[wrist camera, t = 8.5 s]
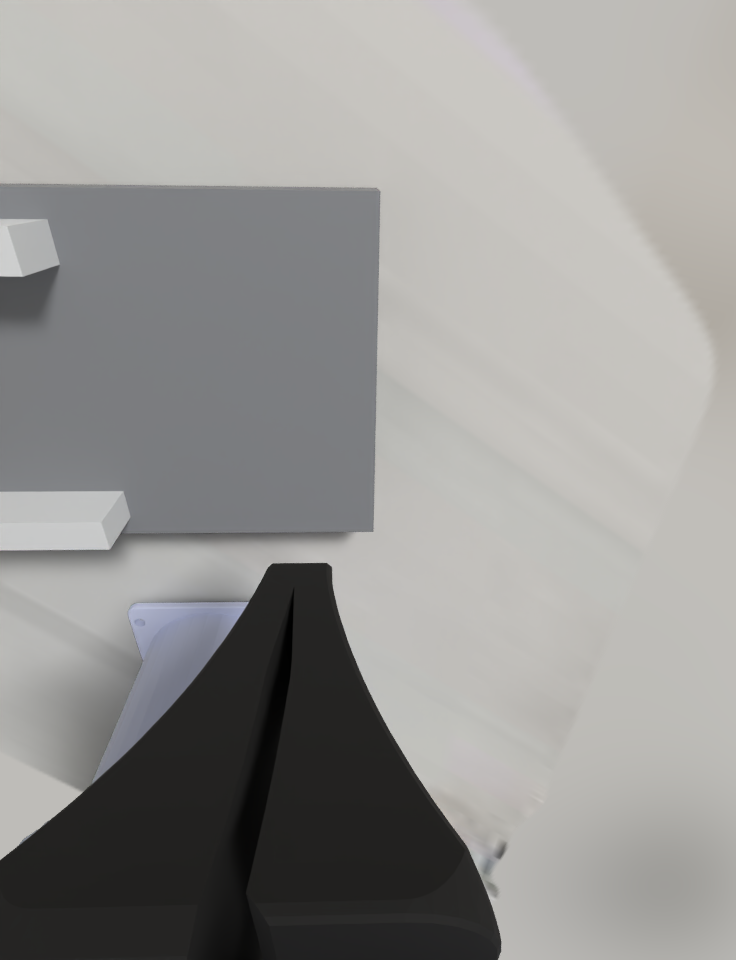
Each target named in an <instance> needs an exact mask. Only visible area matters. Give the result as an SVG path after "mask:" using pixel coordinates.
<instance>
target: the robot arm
mask: <svg viewBox="0 0 736 960" xmlns="http://www.w3.org/2000/svg"><path fill="white" fill-rule="evenodd" d="M128 617H129V620H130V623H131V626H132V630H133V633H134V636H135V639H136V642H137V645H138V648H139V651H140V654H141V657H142V661H143V663H142V665H141V668H140V670H139V672H138V675H137V677H136V679H135V682H134V684H133V687H132V689H131V691H130V694H129V696H128V698H127V701H126V703H125V705H124V708H123V710H122V713H121V715H120V717H119V720H118V722H117V724H116V727H115V729H114V731H113V734H112V736H111V738H110V741H109V743H108V746H107V748H106V750H105V753H104V755H103V757H102V760H101V762H100V764H99V767H98V769H97V772H96V774H95V776H94V779H93V781H92V783H91V786H89V787H88V788H87V789H86V790H85V791H84V792H83V793H82V794H81V795H80V796H78V797H77V798H76V799H75V800H74V801H73V802H72V803H70V804H69V805H68V806H67V807H66V808H64V809H63V810H62V811H61V812H60V813H58V814H57V815H56V816H55V817H53V818H52V819H51V820H50V821H48V822H46V823H45V824H44V825H43V826H42V827H41V828H40V829H38V830H36V831H35V832H34V833H32V834H30V835H29V836H27V837H26V838H24V839H23V840H22V842H21V843H20V844H19V846H18V847H17V848H15V849H14V850H13V851H11V852H10V853H9V854H7V855H6V856H5V857H4V858H2V859H1V860H0V960H498V958H499V955H500V953H501V938H500V933H499V929H498V926H497V922H496V919H495V915H494V912H493V908H492V905H491V903H490V900H489V897H488V894H487V892H486V889H485V887H484V885H483V882H482V880H481V877H480V875H479V873H478V870H477V868H476V866H475V864H474V861H473V859H472V857H471V854H470V852H469V850H468V848H467V846H466V845H465V843H464V842H463V840H462V839H461V838H460V836H459V835H458V834H457V832H456V831H455V830H454V828H453V827H452V826H451V824H450V823H449V822H448V820H447V819H446V817H445V816H444V815H443V813H442V812H441V810H440V809H439V808H438V806H437V805H436V804H435V802H434V801H433V799H432V798H431V796H430V795H429V793H428V792H427V790H426V789H425V787H424V786H423V784H422V783H421V781H420V780H419V778H418V777H417V775H416V774H415V772H414V771H413V769H412V767H411V766H410V764H409V762H408V761H407V759H406V757H405V756H404V754H403V752H402V751H401V749H400V748H399V746H398V744H397V743H396V741H395V739H394V738H393V736H392V734H391V733H390V731H389V729H388V727H387V725H386V723H385V722H384V720H383V718H382V716H381V714H380V712H379V710H378V709H377V707H376V705H375V703H374V701H373V699H372V697H371V695H370V693H369V690H368V688H367V686H366V684H365V682H364V680H363V677H362V675H361V673H360V671H359V668H358V666H357V663H356V661H355V658H354V656H353V654H352V651H351V648H350V646H349V643H348V640H347V637H346V634H345V631H344V628H343V625H342V622H341V619H340V616H339V612H338V609H337V605H336V600H335V596H334V591H333V585H332V567H331V566H330V565H328V564H327V563H280V564H272V565H270V566H269V567H268V569H267V571H266V573H265V575H264V577H263V579H262V580H261V582H260V584H259V586H258V588H257V589H256V591H255V593H254V595H253V596H252V598H251V600H250V601H249V602H190V603H135V604H133V605H131V607H130V609H129V611H128ZM140 619H142V620H140ZM143 620H144V621H143Z"/></svg>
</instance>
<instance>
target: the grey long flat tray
mask: <svg viewBox="0 0 736 960" xmlns="http://www.w3.org/2000/svg"><path fill="white" fill-rule="evenodd" d="M379 228H380V191H379V190H378V189H377V188H320V187H234V186H149V185H63V184H0V550H110V549H111V547H112V546H113V544H114V543H115V541H116V539H117V538H118V536H119V535H120V534H130V533H269V532H373V523H374V474H375V425H376V376H377V326H378V277H379Z"/></svg>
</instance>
